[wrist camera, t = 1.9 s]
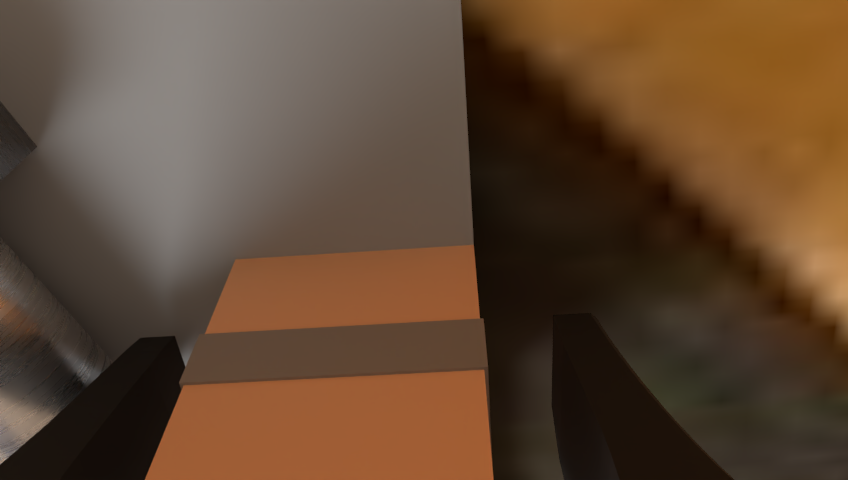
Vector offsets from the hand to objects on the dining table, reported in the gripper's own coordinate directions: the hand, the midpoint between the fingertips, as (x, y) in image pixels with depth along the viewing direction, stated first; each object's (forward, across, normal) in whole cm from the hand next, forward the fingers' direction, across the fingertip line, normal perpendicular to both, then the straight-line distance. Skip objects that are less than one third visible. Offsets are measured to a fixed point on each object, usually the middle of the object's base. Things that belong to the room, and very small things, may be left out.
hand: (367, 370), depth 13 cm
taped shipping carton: (+1, 0, 0) cm, 1 cm away
